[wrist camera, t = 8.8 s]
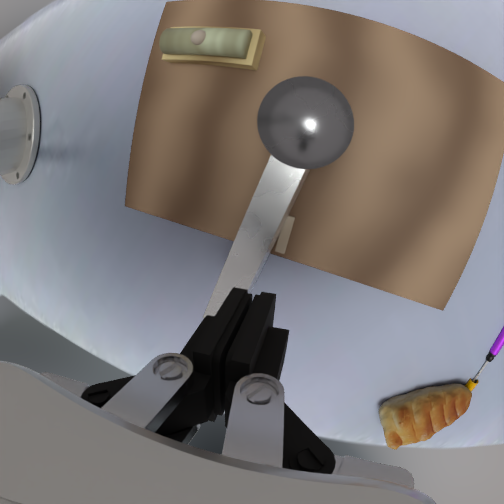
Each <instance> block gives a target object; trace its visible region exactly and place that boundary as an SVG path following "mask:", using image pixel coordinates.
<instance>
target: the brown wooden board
mask: <svg viewBox="0 0 504 504" xmlns="http://www.w3.org/2000/svg"><path fill="white" fill-rule="evenodd" d="M298 76H309V77H315V78H319V79H322V80H325V81H327V82H329V83H330V84H332V85H333V86H335V87H336V88H337V89H338V90H340V91H341V93H342V94H343V95H344V96H345V98H346V99H347V101H348V102H349V104H350V106H351V109H352V112H353V117H354V132H353V136H352V139H351V142H350V144H349V146H348V148H347V149H346V151H345V152H344V153H343V154H342V155H341V156H340V157H339V158H338V159H337V160H335V161H334V162H332V163H330V164H329V165H326V166H324V167H321V168H317V169H310V171H309V173H308V175H307V177H306V179H305V182H304V184H303V186H302V188H301V190H300V192H299V194H298V196H297V198H296V200H295V203H294V205H293V207H292V209H291V211H290V213H289V215H288V217H287V219H286V221H285V223H284V225H283V228H282V230H281V232H280V234H279V236H278V238H277V240H276V242H275V244H274V246H273V248H272V250H271V252H270V253H271V254H274V255H277V256H280V257H283V258H286V259H289V260H292V261H295V262H298V263H301V264H305V265H308V266H311V267H314V268H317V269H320V270H323V271H326V272H329V273H332V274H335V275H338V276H341V277H344V278H347V279H350V280H353V281H356V282H359V283H362V284H365V285H368V286H371V287H374V288H377V289H380V290H383V291H386V292H389V293H392V294H395V295H398V296H401V297H404V298H407V299H410V300H413V301H416V302H419V303H422V304H425V305H428V306H431V307H434V308H437V309H440V310H444V308H445V306H446V304H447V302H448V301H449V299H450V297H451V295H452V293H453V291H454V289H455V287H456V285H457V283H458V281H459V279H460V277H461V275H462V273H463V270H464V268H465V266H466V264H467V262H468V259H469V257H470V255H471V253H472V250H473V248H474V245H475V243H476V240H477V238H478V235H479V233H480V230H481V227H482V225H483V222H484V219H485V216H486V214H487V211H488V208H489V205H490V201H491V198H492V195H493V192H494V188H495V185H496V181H497V178H498V174H499V170H500V166H501V162H502V158H503V153H504V82H503V81H501V80H500V79H498V78H496V77H495V76H493V75H492V74H490V73H489V72H487V71H485V70H484V69H482V68H480V67H479V66H477V65H475V64H473V63H472V62H470V61H468V60H466V59H464V58H462V57H461V56H459V55H457V54H455V53H453V52H451V51H449V50H447V49H445V48H443V47H441V46H438V45H436V44H434V43H432V42H429V41H427V40H425V39H422V38H420V37H418V36H415V35H413V34H410V33H408V32H405V31H402V30H400V29H397V28H394V27H391V26H388V25H385V24H382V23H379V22H376V21H372V20H369V19H365V18H362V17H358V16H354V15H351V14H347V13H342V12H338V11H334V10H329V9H324V8H319V7H313V6H307V5H301V4H294V3H286V2H277V1H266V0H182V1H171V2H166V5H165V8H164V10H163V13H162V16H161V20H160V23H159V26H158V29H157V32H156V36H155V39H154V43H153V46H152V50H151V53H150V57H149V61H148V65H147V69H146V73H145V77H144V82H143V86H142V91H141V95H140V100H139V105H138V110H137V116H136V121H135V127H134V133H133V140H132V146H131V153H130V161H129V169H128V178H127V188H126V199H125V206H126V207H129V208H132V209H135V210H139V211H142V212H145V213H148V214H151V215H154V216H157V217H160V218H163V219H167V220H170V221H173V222H176V223H179V224H182V225H185V226H188V227H191V228H194V229H197V230H200V231H204V232H207V233H210V234H213V235H216V236H219V237H222V238H225V239H228V240H231V241H234V240H235V238H236V235H237V233H238V231H239V228H240V226H241V224H242V221H243V219H244V216H245V214H246V212H247V209H248V207H249V205H250V202H251V200H252V198H253V195H254V193H255V191H256V188H257V186H258V184H259V181H260V179H261V177H262V174H263V172H264V170H265V167H266V165H267V163H268V161H269V158H270V156H271V154H270V153H269V151H268V150H267V149H266V148H265V146H264V144H263V143H262V141H261V138H260V135H259V132H258V127H257V116H258V110H259V107H260V104H261V102H262V100H263V98H264V97H265V95H266V94H267V93H268V92H269V91H270V90H271V89H272V88H273V87H274V86H275V85H277V84H278V83H280V82H282V81H284V80H286V79H289V78H293V77H298Z"/></svg>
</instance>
